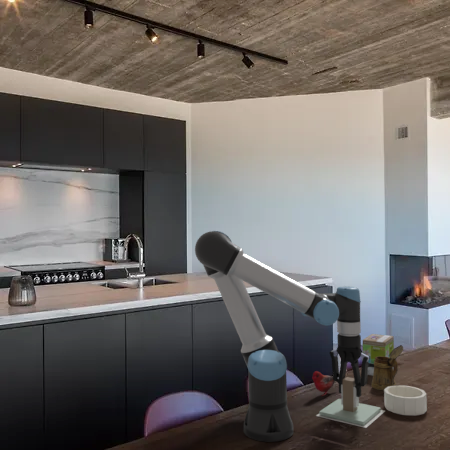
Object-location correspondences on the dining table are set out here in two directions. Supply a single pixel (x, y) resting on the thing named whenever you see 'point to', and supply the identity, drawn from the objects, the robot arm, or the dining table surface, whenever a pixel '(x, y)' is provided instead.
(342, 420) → the mat
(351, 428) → the dining table surface
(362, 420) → the lid
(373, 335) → the tea box
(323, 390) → the decorative bird figurine
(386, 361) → the wooden mug
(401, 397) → the bowl
